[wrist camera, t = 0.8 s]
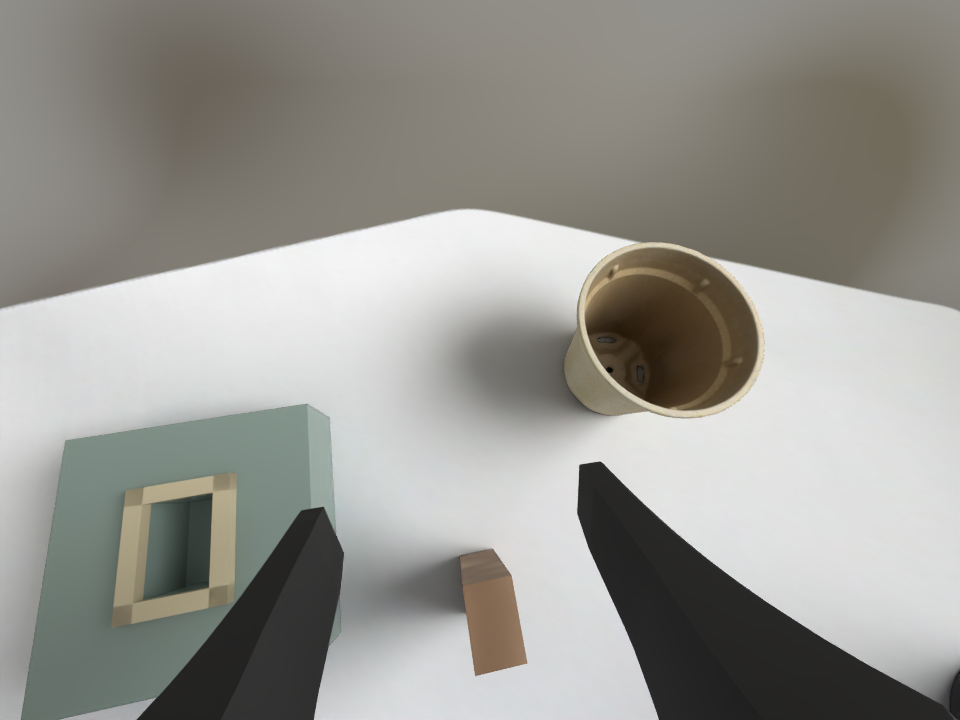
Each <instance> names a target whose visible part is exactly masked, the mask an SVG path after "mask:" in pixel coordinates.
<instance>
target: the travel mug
mask: <svg viewBox="0 0 960 720" xmlns="http://www.w3.org/2000/svg"><path fill="white" fill-rule="evenodd" d="M950 710H951V714H952V715H953V716H954V717H955V718H956V719H957V720H960V673H959V674H958V676H957V678H956V680H955V682H954V684H953V688H952V692H951V701H950Z"/></svg>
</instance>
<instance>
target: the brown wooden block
mask: <svg viewBox="0 0 960 720" xmlns="http://www.w3.org/2000/svg"><path fill="white" fill-rule="evenodd" d="M460 564H461V576H462V587H463V594H464V601H465V608H466V615H467V622H468V629H469V636H470V643H471V650H472V657H473V664H474V671H475V676H477V675H481V674H485V673H490V672H494V671H498V670H502V669H506V668H510V667H514V666H518V665H523V664H527V659H526V653H525V648H524V642H523V637H522V631H521V626H520V620H519V614H518V609H517V603H516V598H515V592H514V587H513V581H512V576H511V574H510V573H509V571H508V570H507V568H506V567H505V565H504V564H503V563H502V561H501V560H500V558H499V557H498V555H497V554H496V553H495V551H494V550H493V549H490V550H485V551H480V552H476V553H471V554H466V555H461V556H460Z"/></svg>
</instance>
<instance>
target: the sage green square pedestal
mask: <svg viewBox="0 0 960 720" xmlns="http://www.w3.org/2000/svg"><path fill="white" fill-rule="evenodd" d="M318 507H324V508H325V510H326V513H327V515H328V517H329V520H330V522H331V524H332V527H333V529H334V531H335V534H336V529H335V510H334V492H333V473H332V455H331V436H330V418H329V417H328V416H327V415H325V414H323V413H322V412H320V411H318V410H317V409H315V408H314V407H312V406H310V405H309V404H302V405H295V406H289V407H282V408H276V409H269V410H263V411H256V412H249V413H243V414H236V415H230V416H223V417H217V418H210V419H204V420H197V421H190V422H184V423H177V424H171V425H164V426H158V427H151V428H145V429H138V430H131V431H125V432H118V433H112V434H105V435H99V436H92V437H86V438H79V439H73V440H66V441H65V446H64V453H63V459H62V465H61V471H60V478H59V484H58V490H57V496H56V503H55V509H54V515H53V521H52V528H51V534H50V540H49V547H48V553H47V559H46V565H45V572H44V578H43V584H42V590H41V597H40V603H39V609H38V615H37V622H36V628H35V634H34V641H33V647H32V653H31V659H30V666H29V672H28V678H27V684H26V691H25V697H24V703H23V709H22V716H21V720H59V719H63V718H68V717H72V716H76V715H81V714H85V713H90V712H94V711H98V710H103V709H107V708H112V707H116V706H120V705H125V704H129V703H134V702H138V701H142V700H147V699H151V698H156V697H158V696H159V695H160V694H161V693H162V692H163V690H164V689H165V688H166V687H167V686H168V685H169V684H170V683H171V681H172V680H173V679H174V678H175V677H176V676H177V674H178V673H179V672H180V671H181V670H182V669H183V668H184V666H185V665H186V664H187V663H188V662H189V661H190V659H191V658H192V657H193V656H194V655H195V653H196V652H197V651H198V650H199V649H200V647H201V646H202V645H203V644H204V642H205V641H206V640H207V639H208V638H209V636H210V635H211V634H212V632H213V631H214V630H215V629H216V627H217V626H218V625H219V623H220V622H221V621H222V620H223V618H224V617H225V616H226V614H227V613H228V612H229V611H230V609H231V608H232V607H233V605H234V604H235V603H236V602H237V600H238V599H239V598H240V596H241V595H242V594H243V592H244V591H245V589H246V588H247V587H248V585H249V584H250V582H251V581H252V580H253V578H254V577H255V576H256V574H257V573H258V571H259V570H260V569H261V567H262V566H263V564H264V563H265V562H266V560H267V559H268V557H269V556H270V554H271V553H272V552H273V550H274V549H275V547H276V546H277V544H278V543H279V541H280V540H281V538H282V537H283V536H284V534H285V533H286V531H287V530H288V528H289V527H290V525H291V524H292V522H293V521H294V519H295V518H296V517H297V515H298V514H299V513H300V511H301V510H306V509H312V508H318ZM340 632H341V621H340V603H339V600H338V604H337V609H336V614H335V619H334V623H333V628H332V633H331V637H330V642H329V645H330V644H331V643H332V642H333V640H334V639H335V638H336V637H337V636H338V634H339V633H340ZM328 647H329V646H328Z"/></svg>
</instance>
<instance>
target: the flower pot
mask: <svg viewBox="0 0 960 720" xmlns="http://www.w3.org/2000/svg"><path fill="white" fill-rule="evenodd" d="M577 324H578V327H577V330H576V332H575V335H574V337H573V339H572V342H571V344H570V347H569V349H568V351H567V353H566V356H565V361H564V373H565V378H566V382H567V384H568V387H569V389H570V390H571V392H572V393H573V394H574V395H575V396H576V397H577V399H578V400H579V401H580V402H581V403H583V404H584V405H585V406H586V407H587V408H589V409H590V410H592V411H595V412H597V413H600V414H604V415H613V416H615V415H623V414H630V413H637V412H646V411H649V412H652V413H655V414H658V415H662V416H667V417H673V418H698V417H704V416H709V415H713V414H716V413H719V412H721V411H724V410H726V409H727V408H729V407H731V406H732V405H734V404H736V403H737V402H738V401H740V399H741V398H743V397H744V396H745V395H746V394H747V393H748V392H749V391H750V389H751V387H752V386H753V384H754V383H755V381H756V379H757V377H758V375H759V372H760V370H761V367H762V364H763V359H764V345H765V341H764V333H763V328H762V325H761V322H760V319H759V316H758V313H757V311H756V308H755V306H754V304H753V302H752V300H751V299H750V297H749V296H748V295H747V294H746V292H745V291H744V288H743V287H742V286H741V284H740V283H739V282H738V281H737V280H736V279H735V277H734V276H733V275H732V274H730V273H729V272H728V271H727V270H726V269H725V268H723V267H722V266H721V265H720V264H718V263H717V262H715V261H714V260H712V259H710V258H709V257H707V256H704V255H703V254H701V253H699V252H697V251H695V250H692V249H688V248H685V247H682V246H679V245H673V244H668V243H654V242H651V243H638V244H634V245H630V246H626V247H623V248H621V249H619V250H617V251H615V252H613V253H611V254H609V255H607V256H606V257H605V258H604V259H602V260H601V261H600V262H599V263H598V264H597V265H596V266H595V267H594V268H593V270H592V271H591V272H590V274H589V275H588V276H587V278H586V280H585V282H584V284H583V287H582V290H581V292H580V296H579V300H578V305H577ZM600 338H613V339H615V342H614V343H608V342H599V341H598V340H597V339H600ZM637 366H641V367H642V368H643V371H644V374H643V382H639V381H638V377H637V368H636V367H637ZM608 367H610V368H612V372H611V373H609V372H607V371H606V369H607V368H608Z"/></svg>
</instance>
